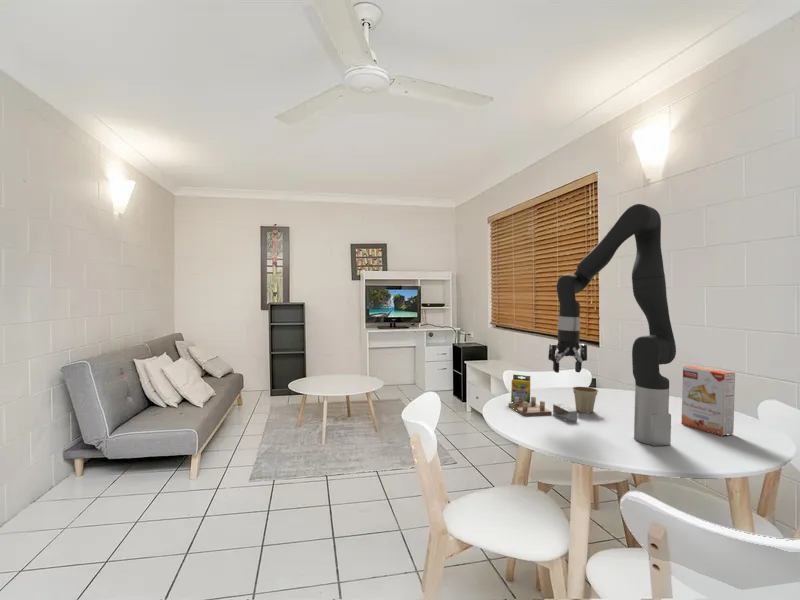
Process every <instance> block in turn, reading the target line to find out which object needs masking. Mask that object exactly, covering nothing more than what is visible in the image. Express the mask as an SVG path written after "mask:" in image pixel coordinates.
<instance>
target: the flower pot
mask: <svg viewBox="0 0 800 600" xmlns="http://www.w3.org/2000/svg"><path fill="white" fill-rule="evenodd" d="M572 390H573V394H574V402H575V410H576V411H577V412H578V411H579V412H580V413H585V414H588V413H589V414H590V413H594V409H595V403H596V397H597V396H598V392H599V389H596V388H594V387H588V386H573V387H572Z"/></svg>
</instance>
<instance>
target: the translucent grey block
mask: <svg viewBox="0 0 800 600" xmlns="http://www.w3.org/2000/svg"><path fill="white" fill-rule="evenodd" d="M552 414H553V415H554V416H556V417H558V418H560V419H562V420H563V421H565V420H566V422H567V421H568V423H573V422H575V421H577V422H578V411H577V410H576V409H574V408H571V407H569V406H567V405H565V404H563V403H553V405H552Z"/></svg>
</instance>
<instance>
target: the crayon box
mask: <svg viewBox="0 0 800 600" xmlns="http://www.w3.org/2000/svg"><path fill="white" fill-rule="evenodd" d="M512 376H513V377H512V379H511V396H510V403H511V402H513V403H514V399H515V397H518V398H519V403H523V402H531V376H530V375H522V374H512ZM521 377H522V378H521Z"/></svg>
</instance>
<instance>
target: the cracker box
mask: <svg viewBox="0 0 800 600" xmlns="http://www.w3.org/2000/svg"><path fill="white" fill-rule="evenodd" d="M735 383H736V373H735V372H731V371H727V370H720V369H714V368H710V367H709V368H708V367H702V366H698V365H685V366H683V367H682V390H681V393H682V396H681V425H685V426H687V425H688V427H692V428H694V427H695V429H697V428H698V430H700V429H702V430H701V431H704V430H705V431H704V432H707V431H709V432H708V433H710V432H713V433H716V434H719V435H718V436H720V435H727V434H732V433H733V434H734V421H735V390H736V389H735V388H736V384H735ZM713 433H712V434H713ZM716 434H715V435H716ZM733 434H732V435H733ZM727 436H728V435H727Z"/></svg>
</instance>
